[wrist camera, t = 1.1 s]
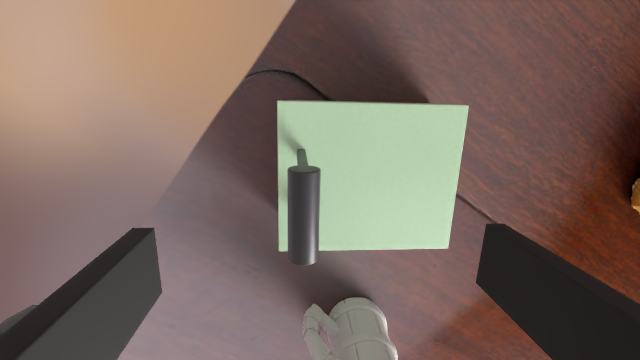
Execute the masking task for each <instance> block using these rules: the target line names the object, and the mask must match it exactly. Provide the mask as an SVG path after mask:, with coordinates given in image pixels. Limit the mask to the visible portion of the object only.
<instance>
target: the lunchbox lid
mask: <svg viewBox="0 0 640 360" xmlns="http://www.w3.org/2000/svg"><path fill="white" fill-rule="evenodd" d="M468 108H469V105H443V104H402V103H361V102H319V101H277V144H278V230H279V251H288V260H289V261H290V262H291V263H293V264H295V265H301V266H306V265H311V264H313V263H315V262H316V261H317V260H318V257H319V251H322V250H379V249H437V248H448V243H449V237H450V230H451V223H452V216H453V210H454V203H455V196H456V189H457V182H458V176H459V169H460V162H461V155H462V148H463V142H464V135H465V128H466V121H467V114H468Z"/></svg>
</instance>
